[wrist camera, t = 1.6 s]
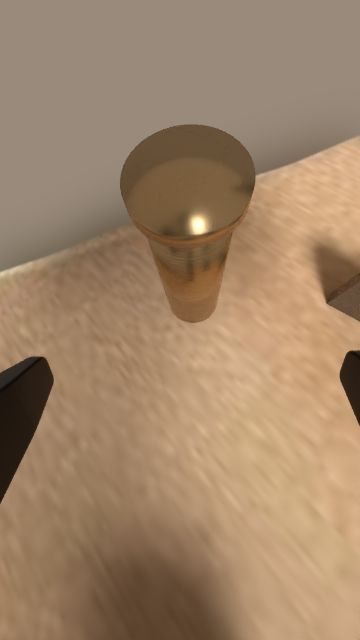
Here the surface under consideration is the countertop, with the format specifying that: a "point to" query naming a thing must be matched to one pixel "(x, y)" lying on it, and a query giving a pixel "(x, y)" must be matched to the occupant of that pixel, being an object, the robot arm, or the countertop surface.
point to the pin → (189, 208)
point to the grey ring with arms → (348, 298)
